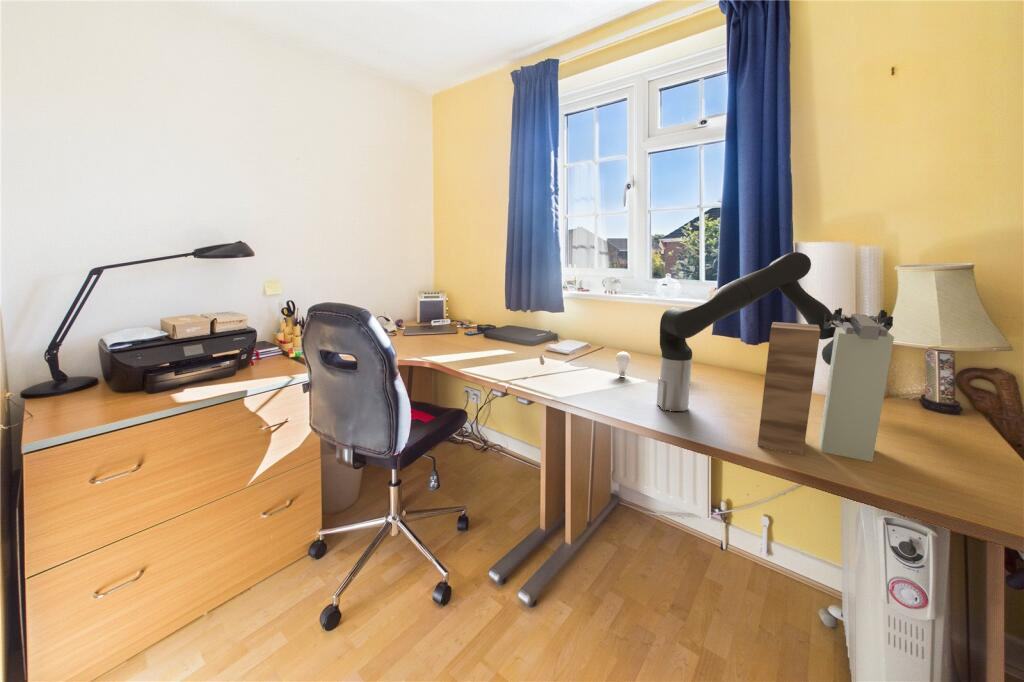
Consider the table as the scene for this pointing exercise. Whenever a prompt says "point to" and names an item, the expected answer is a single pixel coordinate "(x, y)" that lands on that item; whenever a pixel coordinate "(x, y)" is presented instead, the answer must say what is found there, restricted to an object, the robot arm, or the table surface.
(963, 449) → the table surface
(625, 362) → the lightbulb
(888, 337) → the cradle stand
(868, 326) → the axle bar
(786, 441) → the walnut stand
